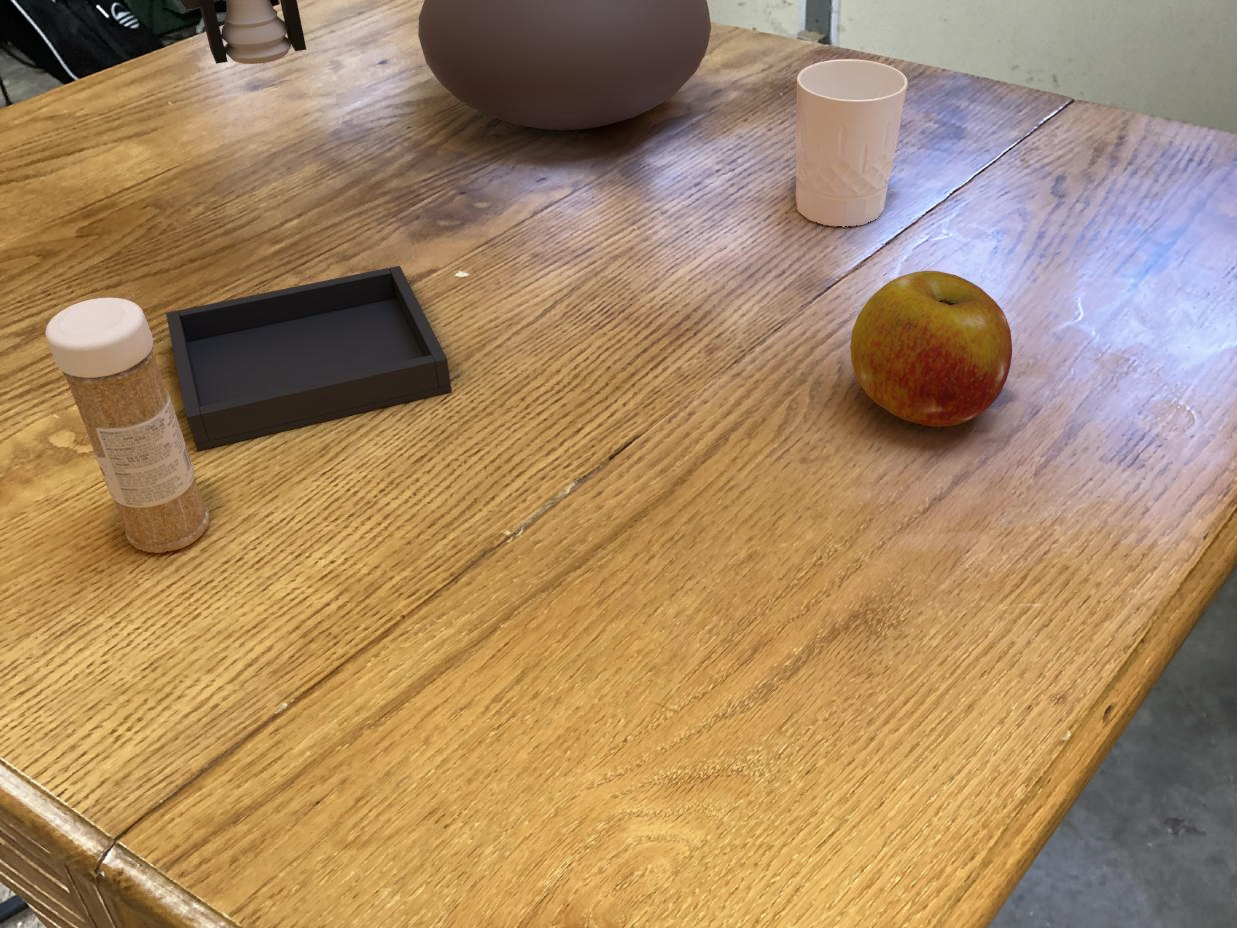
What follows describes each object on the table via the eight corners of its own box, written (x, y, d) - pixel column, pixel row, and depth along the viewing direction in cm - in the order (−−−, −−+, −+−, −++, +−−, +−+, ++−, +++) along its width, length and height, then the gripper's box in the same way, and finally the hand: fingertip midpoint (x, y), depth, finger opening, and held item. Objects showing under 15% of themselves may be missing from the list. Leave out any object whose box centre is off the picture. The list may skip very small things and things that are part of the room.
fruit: (1033, 419, 73) (1061, 303, 67) (918, 471, 69) (938, 352, 64) (924, 346, 79) (943, 234, 74) (814, 390, 76) (825, 276, 70)
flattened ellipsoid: (518, 47, 121) (504, -118, 111) (751, 84, 113) (758, -90, 103) (374, 141, 105) (343, -42, 95) (634, 194, 96) (630, -1, 86)
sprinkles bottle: (133, 508, 68) (52, 298, 59) (216, 498, 69) (148, 289, 60) (121, 563, 65) (33, 349, 56) (209, 551, 65) (136, 338, 56)
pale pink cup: (780, 226, 92) (789, 96, 85) (795, 181, 97) (805, 55, 91) (886, 236, 90) (903, 104, 84) (895, 190, 96) (911, 63, 89)
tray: (197, 451, 72) (186, 417, 70) (175, 345, 81) (165, 312, 79) (452, 392, 76) (447, 358, 74) (405, 297, 85) (399, 265, 83)
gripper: (-12, -373, 60) (126, 91, 76) (336, -392, 65) (400, 48, 81) (-14, -385, 66) (116, 52, 81) (309, -402, 70) (374, 13, 86)
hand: (258, 49), depth 81 cm, fingers closed on rook chess piece, 4 cm apart
